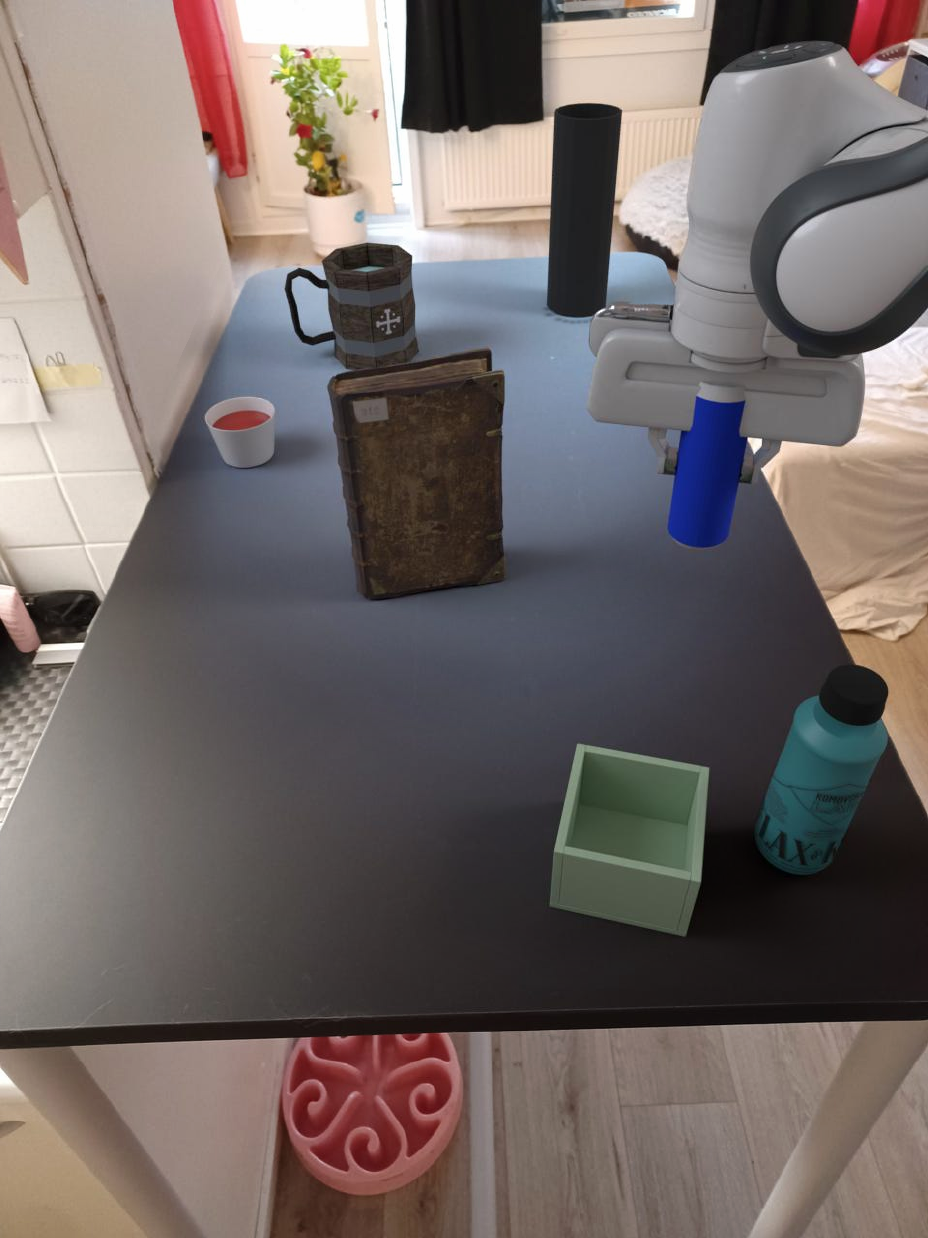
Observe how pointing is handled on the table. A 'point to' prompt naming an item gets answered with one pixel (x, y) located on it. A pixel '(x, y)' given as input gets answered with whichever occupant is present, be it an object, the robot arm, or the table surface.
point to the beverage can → (708, 469)
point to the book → (422, 472)
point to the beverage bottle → (823, 771)
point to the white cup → (243, 430)
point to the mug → (365, 305)
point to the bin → (631, 839)
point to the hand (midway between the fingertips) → (707, 475)
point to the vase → (582, 206)
